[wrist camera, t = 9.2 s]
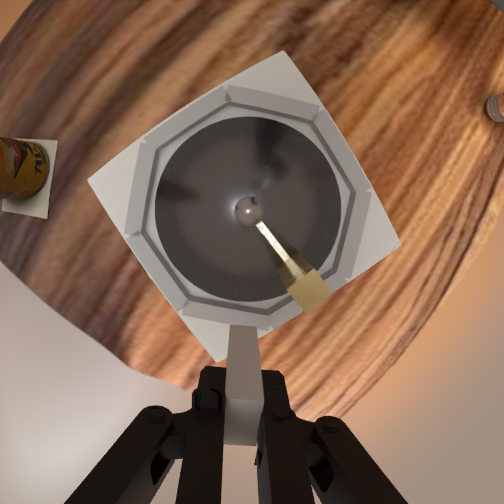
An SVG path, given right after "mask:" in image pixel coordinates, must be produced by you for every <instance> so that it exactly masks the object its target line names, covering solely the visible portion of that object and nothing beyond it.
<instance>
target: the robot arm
mask: <svg viewBox="0 0 504 504" xmlns="http://www.w3.org/2000/svg"><path fill="white" fill-rule="evenodd" d="M490 1H491V2H492V3H493V4H494V5H495V6H496V7H497V8H498V9H499V10H500V11H502V12H503V13H504V0H490ZM223 444H231V445H247V446H256V444H258V448H257V453H256V459H255V463H254V465H257V479H258V495H259V504H315V502H314V496H313V492H312V487H313V488H314V490H315V492H316V494H317V496H318V497H319V499H320V501H321V503H322V504H408V503H407V502H406V500H405V499H404V498H403V497H402V495H401V494H400V493H399V492H398V490H397V489H396V488H395V487H394V485H393V484H392V483H391V482H390V480H389V479H388V478H387V477H386V475H385V474H384V473H383V472H382V470H381V469H380V468H379V466H378V465H377V464H376V463H375V462H374V460H373V459H372V458H371V456H370V455H369V454H368V452H367V451H366V450H365V449H364V447H363V446H362V445H361V444H360V442H359V441H358V440H357V438H356V437H355V436H354V434H353V433H352V432H351V431H350V429H349V428H348V427H347V425H346V424H345V423H344V422H343V421H342V420H341V419H339V418H337V417H333V416H323V417H320V418H318V419H317V420H316V421H315V422H310V421H306V420H303V419H300V418H298V417H297V416H296V414H295V412H294V411H293V410H291V408H290V404H289V399H288V394H287V390H286V385H285V379H284V376H283V375H282V374H281V373H280V372H279V371H275V370H261V364H260V354H259V344H258V334H257V327H256V326H243V325H232V324H230V329H229V341H228V352H227V363H226V368H223V367H213V366H206V367H205V368H204V369H203V370H201V373H200V378H199V384H198V388H197V389H195V390H194V391H193V393H192V408H191V409H190V410H188V411H186V412H183V413H176V414H172V412H171V411H169V409H167V408H165V407H163V406H157V405H156V406H148V407H145V408H144V409H143V410H142V411H141V412H140V413H139V414H138V415H137V416H136V418H135V419H134V420H133V421H132V423H131V424H130V425H129V426H128V427H127V429H126V430H125V431H124V432H123V433H122V435H121V436H120V437H119V438H118V439H117V441H116V442H115V443H114V444H113V446H112V447H111V448H110V449H109V450H108V452H107V453H106V454H105V455H104V456H103V458H102V459H101V460H100V461H99V462H98V464H97V465H96V466H95V467H94V468H93V470H92V471H91V472H90V473H89V474H88V476H87V477H86V478H85V479H84V481H82V483H81V484H80V485H79V486H78V487H77V489H76V490H75V491H74V492H73V493H72V495H71V496H70V497H69V498H68V499H67V500H66V502H65V503H64V504H150V503H151V501H152V499H153V497H154V496H155V494H156V492H157V491H158V489H159V487H160V486H161V484H162V482H163V480H164V479H165V477H166V475H167V473H168V472H169V470H170V469H171V467H172V465H173V463H174V461H175V459H182V458H183V461H182V467H181V472H180V478H179V484H178V490H177V497H176V502H175V504H221V488H222V486H221V485H222V465H223V464H222V463H223ZM311 485H312V487H311Z"/></svg>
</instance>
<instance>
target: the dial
mask: <svg viewBox="0 0 504 504" xmlns="http://www.w3.org/2000/svg"><path fill="white" fill-rule="evenodd" d="M155 221H156V228H157V232H158V236H159V239H160V241H161V244H162V247H163V249H164V251H165V253H166V254H167V256H168V258H169V260H170V261H171V262H172V264H173V265H174V267H175V268H176V269H177V270H178V271H179V272H180V273H181V274H182V275H183V276H184V277H185V278H186V279H187V280H188V281H189V282H191V283H192V284H193V285H195V286H196V287H198V288H200V289H201V290H203V291H205V292H207V293H209V294H211V295H214V296H216V297H219V298H223V299H226V300H232V301H238V302H256V301H264V300H269V299H273V298H276V297H279V296H282V295H285V294H287V293H289V294H290V295H291V296H292V297H293V299H294V300H295V301H296V302H297V304H298V305H299V306H300V307H301V309H302V310H303V311H304V312H305V314H307V313H309V312H310V311H311V310H313V309H314V308H315V307H317V306H318V305H319V304H321V303H322V302H323V301H324V300H326V299H327V298H328V297H330V296H331V295H332V294H333V293H332V292H331V290H330V289H329V288H328V286H327V285H326V283H325V282H324V281H323V279H322V278H321V277H320V275H319V274H318V273H317V271H318V270H319V268H320V267H321V266H322V265H323V263H324V262H325V260H326V259H327V258H328V256H329V254H330V252H331V250H332V248H333V246H334V244H335V241H336V238H337V235H338V231H339V227H340V222H341V196H340V191H339V186H338V183H337V180H336V176H335V174H334V172H333V170H332V168H331V165H330V164H329V162H328V160H327V159H326V157H325V156H324V154H323V153H322V152H321V151H320V149H319V148H318V147H317V146H316V145H315V144H314V143H313V142H312V141H311V140H310V139H309V138H307V137H306V136H305V135H304V134H302V133H301V132H299V131H298V130H296V129H294V128H292V127H290V126H288V125H286V124H284V123H281V122H278V121H276V120H272V119H268V118H263V117H251V116H245V117H234V118H229V119H224V120H221V121H218V122H215V123H212V124H210V125H208V126H206V127H204V128H202V129H200V130H199V131H197V132H196V133H194V134H193V135H192V136H190V137H189V138H188V139H187V140H186V141H185V142H183V143H182V144H181V145H180V146H179V148H178V149H177V150H176V151H175V152H174V154H173V155H172V156H171V158H170V159H169V161H168V163H167V164H166V166H165V168H164V170H163V172H162V175H161V177H160V180H159V184H158V187H157V191H156V198H155Z"/></svg>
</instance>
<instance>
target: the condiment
mask: <svg viewBox="0 0 504 504" xmlns="http://www.w3.org/2000/svg"><path fill="white" fill-rule="evenodd" d="M57 144H58V140H39V139H10V138H3V137H0V199H3V203H2V211H7V212H13V213H19V214H24V215H30V216H35V217H40V218H46V219H47V217H48V207H49V196H50V188H51V181H52V176H53V168H54V162H55V157H56V151H57ZM37 194H38V196H36V195H37ZM35 197H36V199H34V198H35Z"/></svg>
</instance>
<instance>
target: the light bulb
mask: <svg viewBox="0 0 504 504" xmlns="http://www.w3.org/2000/svg"><path fill="white" fill-rule="evenodd" d="M486 111H487V113H488V115H489V116H490V117H491V118H492V119H493V120H494V121H495V122H503V121H504V91H503V92H501V93H500V94H499V95H497V96H492V97H490V98H489V99H488V100H487V103H486Z"/></svg>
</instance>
